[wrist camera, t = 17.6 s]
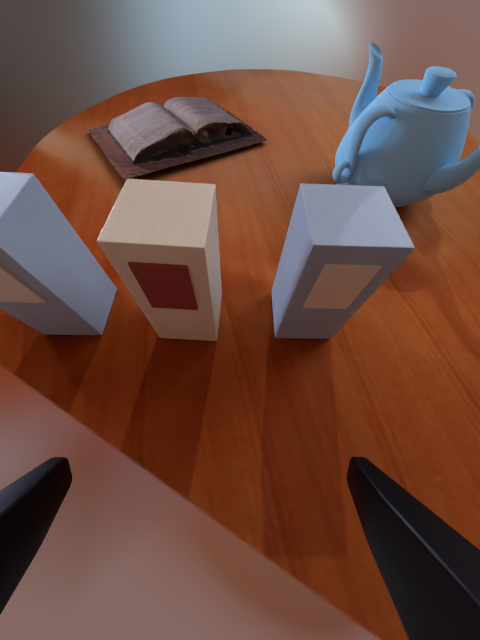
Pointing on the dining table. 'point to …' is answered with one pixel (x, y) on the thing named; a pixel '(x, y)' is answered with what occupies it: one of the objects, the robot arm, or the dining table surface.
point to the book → (170, 135)
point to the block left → (47, 264)
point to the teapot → (407, 136)
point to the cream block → (168, 254)
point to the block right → (335, 257)
